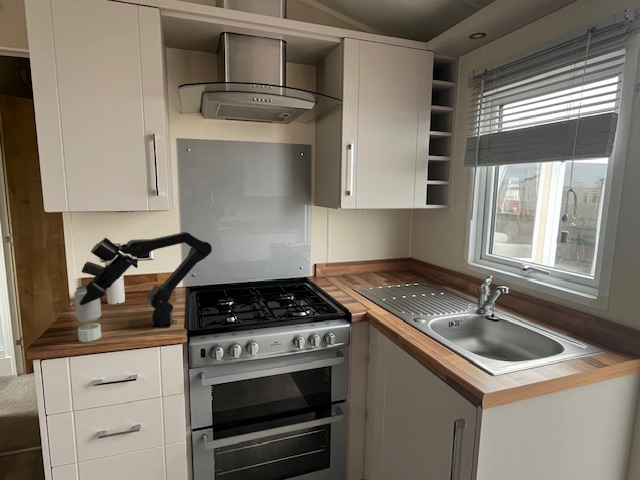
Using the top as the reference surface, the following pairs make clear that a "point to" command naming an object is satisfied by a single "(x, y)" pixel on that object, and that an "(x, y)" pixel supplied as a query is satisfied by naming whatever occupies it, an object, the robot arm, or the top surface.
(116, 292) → the cylindrical container
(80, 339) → the bowl
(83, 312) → the can
